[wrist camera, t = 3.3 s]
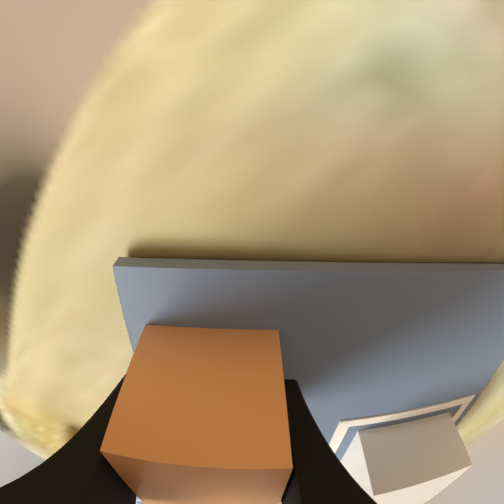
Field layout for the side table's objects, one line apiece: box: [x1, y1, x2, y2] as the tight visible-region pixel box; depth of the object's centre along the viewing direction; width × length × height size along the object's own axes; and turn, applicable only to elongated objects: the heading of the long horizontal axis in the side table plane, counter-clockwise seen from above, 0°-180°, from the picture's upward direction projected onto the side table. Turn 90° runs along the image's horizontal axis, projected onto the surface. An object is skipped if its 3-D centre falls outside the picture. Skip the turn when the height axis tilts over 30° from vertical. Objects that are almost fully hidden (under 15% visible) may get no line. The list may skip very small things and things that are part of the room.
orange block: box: [100, 325, 293, 504], centre depth 9 cm, size 4×4×5 cm
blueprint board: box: [113, 257, 504, 460], centre depth 13 cm, size 18×18×1 cm
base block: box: [340, 412, 472, 504], centre depth 13 cm, size 6×6×4 cm
